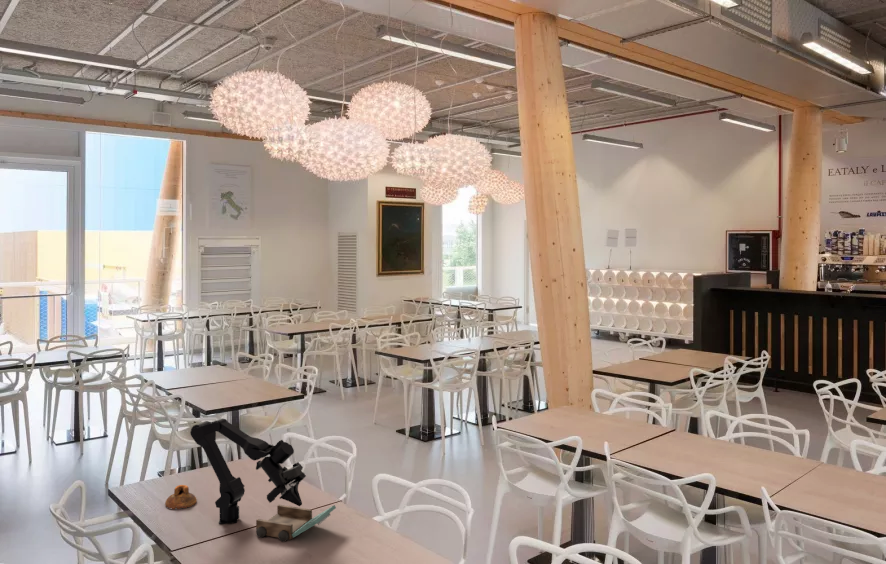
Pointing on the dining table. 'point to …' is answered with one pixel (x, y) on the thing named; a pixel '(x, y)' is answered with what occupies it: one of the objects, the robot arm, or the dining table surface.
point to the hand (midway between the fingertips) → (301, 505)
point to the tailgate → (314, 521)
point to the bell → (180, 498)
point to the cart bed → (283, 522)
